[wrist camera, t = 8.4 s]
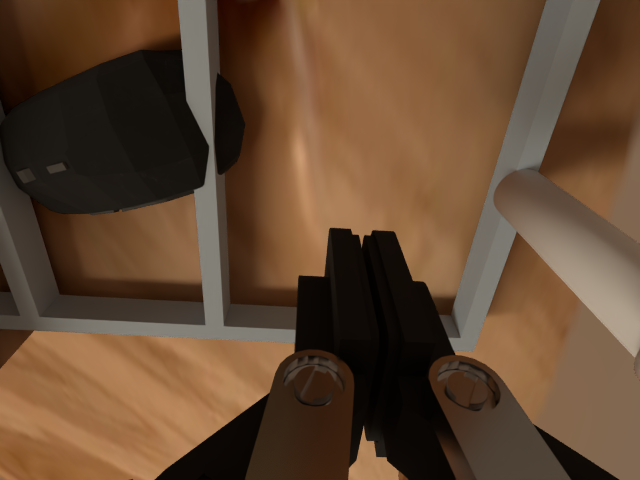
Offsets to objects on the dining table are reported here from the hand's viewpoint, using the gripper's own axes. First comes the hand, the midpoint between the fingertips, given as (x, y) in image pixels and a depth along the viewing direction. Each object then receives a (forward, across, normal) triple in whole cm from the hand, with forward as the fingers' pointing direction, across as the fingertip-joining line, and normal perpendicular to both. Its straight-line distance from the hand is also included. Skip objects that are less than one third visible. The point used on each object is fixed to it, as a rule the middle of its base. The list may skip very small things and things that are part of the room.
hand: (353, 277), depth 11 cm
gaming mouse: (+11, +11, +1) cm, 16 cm away
